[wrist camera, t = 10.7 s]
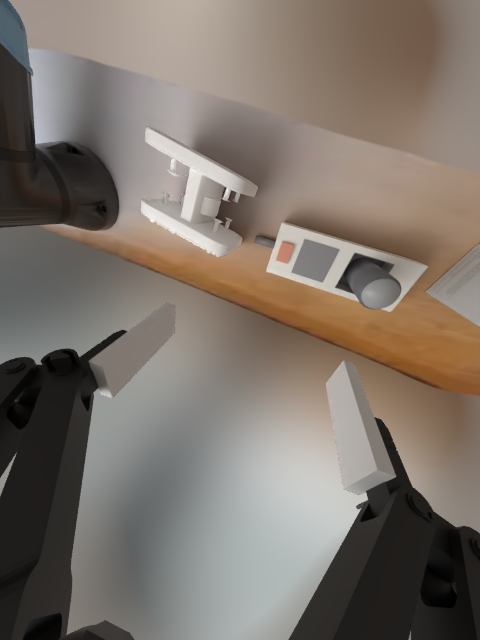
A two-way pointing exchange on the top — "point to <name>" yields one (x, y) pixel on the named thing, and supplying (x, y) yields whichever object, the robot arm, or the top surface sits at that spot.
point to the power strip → (332, 261)
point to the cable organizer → (197, 197)
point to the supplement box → (461, 286)
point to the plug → (372, 284)
